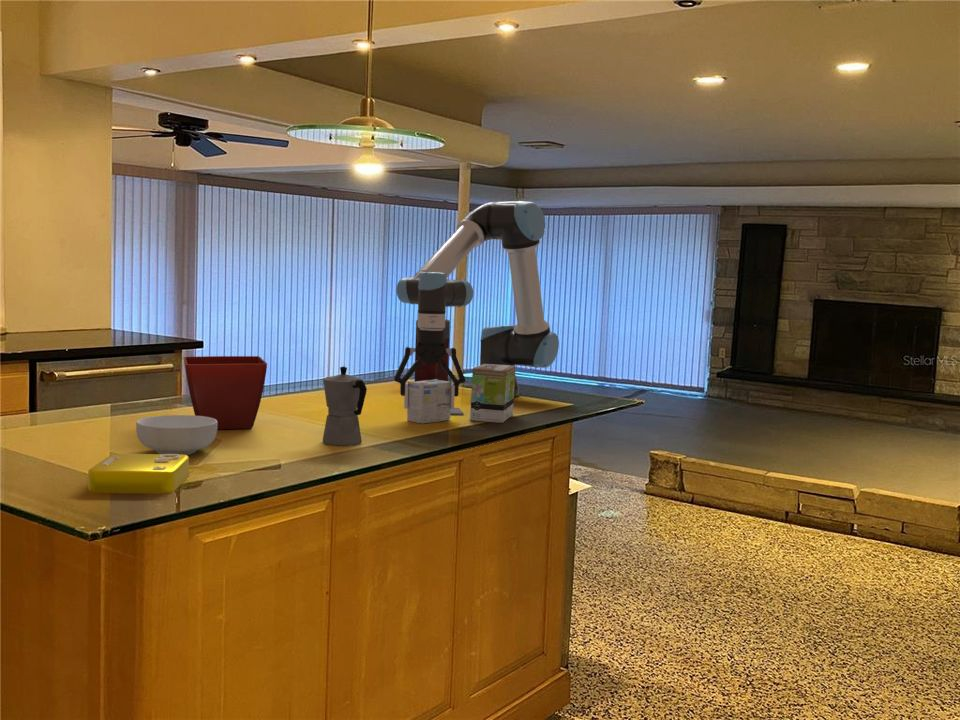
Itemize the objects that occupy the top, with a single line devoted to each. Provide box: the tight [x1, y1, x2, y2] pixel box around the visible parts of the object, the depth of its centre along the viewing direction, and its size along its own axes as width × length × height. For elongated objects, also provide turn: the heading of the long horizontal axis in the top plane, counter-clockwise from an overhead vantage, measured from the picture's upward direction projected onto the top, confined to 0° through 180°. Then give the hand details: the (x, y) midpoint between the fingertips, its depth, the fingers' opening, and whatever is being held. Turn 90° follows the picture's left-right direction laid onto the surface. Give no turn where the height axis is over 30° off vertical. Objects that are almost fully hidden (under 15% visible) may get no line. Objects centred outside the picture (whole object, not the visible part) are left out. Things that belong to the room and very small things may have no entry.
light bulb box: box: [406, 379, 452, 425], centre depth 240 cm, size 11×7×11 cm, turn 135°
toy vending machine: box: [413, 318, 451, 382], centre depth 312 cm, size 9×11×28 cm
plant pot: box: [183, 355, 268, 430], centre depth 222 cm, size 19×19×17 cm
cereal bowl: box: [135, 414, 218, 456], centre depth 191 cm, size 17×17×7 cm
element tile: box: [87, 453, 190, 495], centre depth 164 cm, size 15×15×5 cm
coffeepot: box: [322, 366, 368, 447], centre depth 206 cm, size 15×9×18 cm, turn 43°
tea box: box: [469, 364, 516, 424], centre depth 248 cm, size 15×10×15 cm
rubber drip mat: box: [450, 407, 464, 416], centre depth 255 cm, size 10×14×1 cm
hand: (428, 408), depth 241 cm, fingers closed on light bulb box, 12 cm apart
